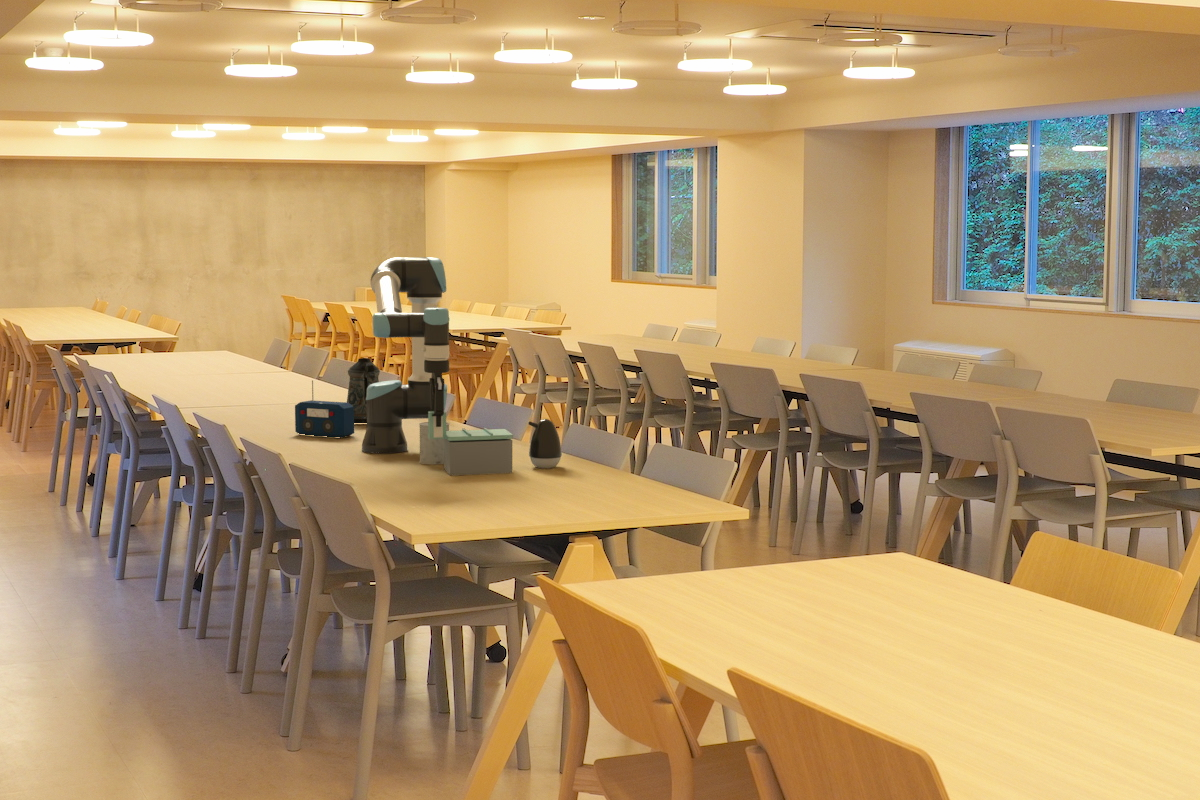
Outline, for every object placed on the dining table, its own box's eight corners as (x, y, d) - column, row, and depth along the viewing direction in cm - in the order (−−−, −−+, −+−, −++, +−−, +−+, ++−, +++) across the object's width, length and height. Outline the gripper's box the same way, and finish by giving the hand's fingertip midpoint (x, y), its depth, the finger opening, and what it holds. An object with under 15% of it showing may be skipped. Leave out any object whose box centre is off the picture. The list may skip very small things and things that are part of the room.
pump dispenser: (529, 464, 406) (529, 416, 404) (562, 464, 406) (562, 416, 405) (527, 469, 396) (527, 421, 394) (561, 470, 396) (561, 421, 394)
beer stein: (365, 418, 515) (364, 356, 512) (400, 422, 504) (399, 358, 501) (334, 422, 502) (333, 358, 499) (369, 426, 490) (368, 361, 488)
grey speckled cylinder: (444, 464, 404) (443, 426, 403) (415, 463, 406) (414, 425, 405) (453, 460, 414) (453, 422, 412) (425, 459, 416) (425, 421, 414)
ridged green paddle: (426, 435, 395) (426, 409, 394) (505, 432, 401) (504, 407, 400) (432, 441, 383) (431, 414, 382) (513, 438, 389) (513, 412, 388)
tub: (444, 468, 397) (444, 436, 396) (504, 466, 402) (504, 434, 401) (450, 475, 385) (450, 442, 384) (512, 472, 390) (512, 440, 389)
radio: (293, 435, 466) (292, 380, 463) (307, 432, 474) (306, 378, 471) (342, 439, 458) (341, 383, 455) (355, 436, 466) (354, 381, 463)
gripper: (420, 357, 393) (421, 433, 396) (427, 361, 378) (428, 440, 380) (445, 356, 395) (445, 432, 398) (453, 361, 380) (453, 439, 382)
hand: (437, 436), depth 389 cm, fingers closed on ridged green paddle, 3 cm apart
